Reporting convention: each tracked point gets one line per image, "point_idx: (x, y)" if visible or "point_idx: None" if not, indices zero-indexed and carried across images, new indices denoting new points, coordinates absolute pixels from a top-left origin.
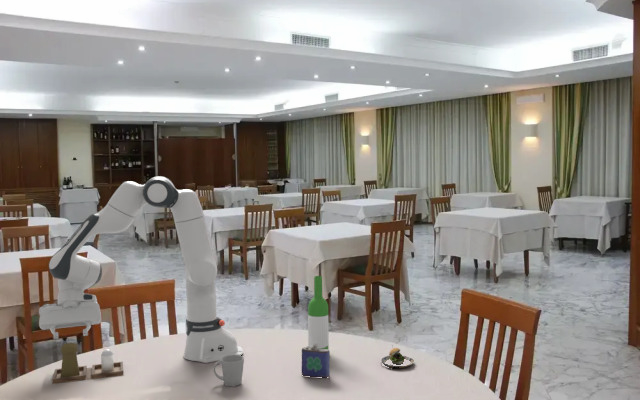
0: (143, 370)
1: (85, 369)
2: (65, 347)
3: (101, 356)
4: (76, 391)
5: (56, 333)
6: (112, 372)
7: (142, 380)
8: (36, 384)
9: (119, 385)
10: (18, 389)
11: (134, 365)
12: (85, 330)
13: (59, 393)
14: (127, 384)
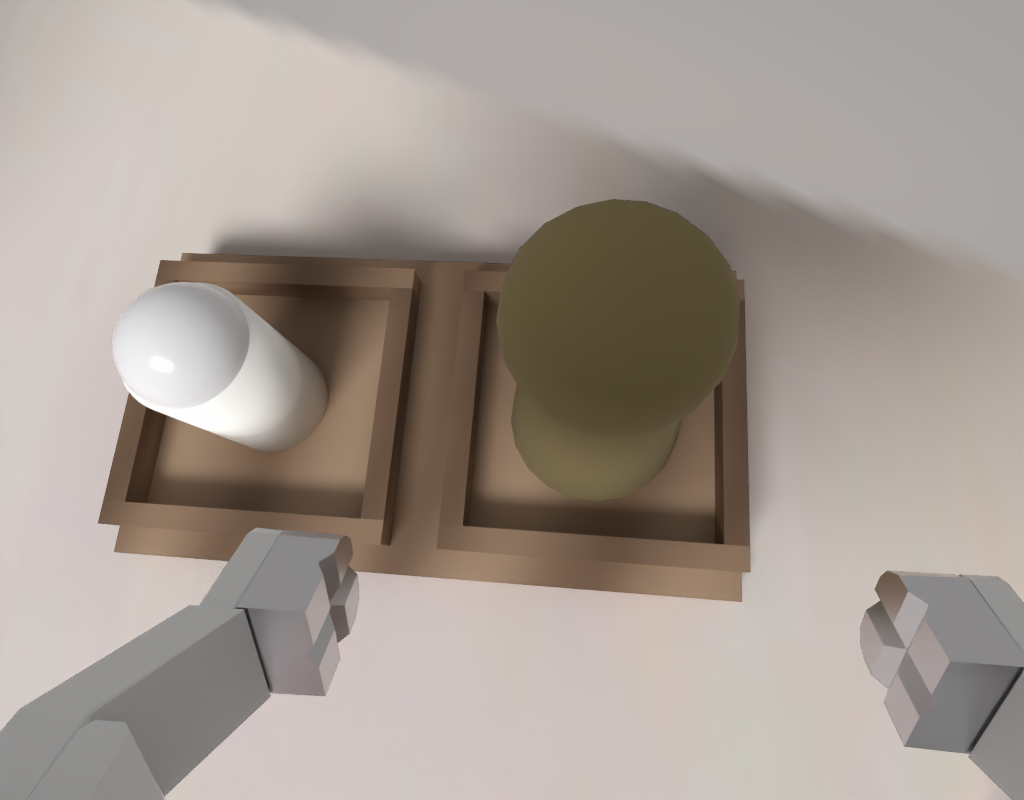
0: (15, 416)
1: (454, 428)
2: (673, 213)
3: (257, 332)
4: (546, 167)
5: (968, 627)
6: (248, 263)
7: (92, 207)
8: (872, 434)
9: (255, 172)
10: (1007, 371)
11: (35, 583)
12: (263, 576)
13: (663, 172)
14: (203, 171)
